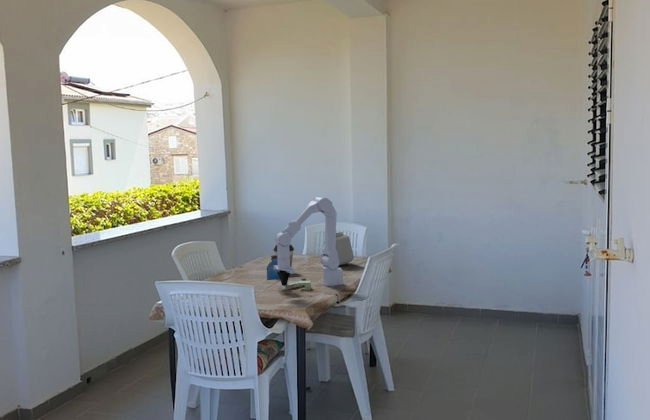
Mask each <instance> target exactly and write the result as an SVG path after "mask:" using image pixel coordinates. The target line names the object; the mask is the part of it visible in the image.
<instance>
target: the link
mask: <svg viewBox="0 0 650 420" xmlns="http://www.w3.org/2000/svg"><path fill="white" fill-rule="evenodd" d="M306 281H308V280H307V279H306ZM298 282H299V281H295V282H291V283H287V284H286V285H282V284H281V287H282V290H288V289H293V288H297V287H301V286H305V285H298Z"/></svg>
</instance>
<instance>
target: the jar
mask: <svg viewBox="0 0 650 420" xmlns="http://www.w3.org/2000/svg"><path fill="white" fill-rule="evenodd" d="M323 242H324V245H325V241H323ZM336 251H337V253H338V259H339V266H343V265H347V264H349V263H351V262H353V260H354V258H355V257H354V252H353V247H352V244H351V239H350V236H349V235H348V234H344V232H343V231H341V232H336Z"/></svg>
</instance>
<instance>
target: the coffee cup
mask: <svg viewBox="0 0 650 420" xmlns="http://www.w3.org/2000/svg"><path fill="white" fill-rule="evenodd" d="M272 250H273V252H274V255H277V244H276V245H275V246H274V248H273V249H272ZM294 250H295V247H293V245H292V244H291V243H290V244H289V251H290V267H291V268H292V267H293V256H294ZM277 258H278V256H277ZM277 262H278V260H277Z"/></svg>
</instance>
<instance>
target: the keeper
mask: <svg viewBox="0 0 650 420" xmlns="http://www.w3.org/2000/svg"><path fill="white" fill-rule="evenodd" d="M297 282H298V285H305V290H310V289H311V285H312V281H311V280H307V281H301V280H299V281H297Z"/></svg>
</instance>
